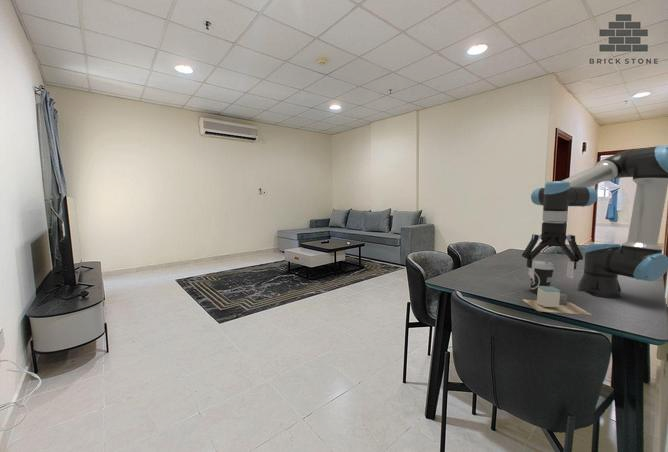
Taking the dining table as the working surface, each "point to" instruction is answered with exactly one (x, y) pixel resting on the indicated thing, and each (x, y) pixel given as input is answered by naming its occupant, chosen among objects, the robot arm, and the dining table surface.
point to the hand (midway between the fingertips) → (550, 276)
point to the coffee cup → (541, 275)
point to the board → (557, 308)
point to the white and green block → (548, 296)
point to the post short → (563, 299)
